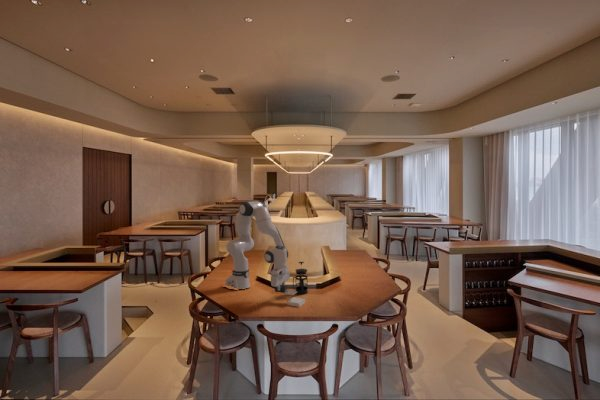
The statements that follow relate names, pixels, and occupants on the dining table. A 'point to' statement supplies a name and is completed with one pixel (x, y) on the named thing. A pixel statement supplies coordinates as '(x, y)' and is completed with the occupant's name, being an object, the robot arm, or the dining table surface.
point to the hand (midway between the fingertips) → (280, 289)
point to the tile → (296, 302)
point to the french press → (301, 281)
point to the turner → (285, 290)
